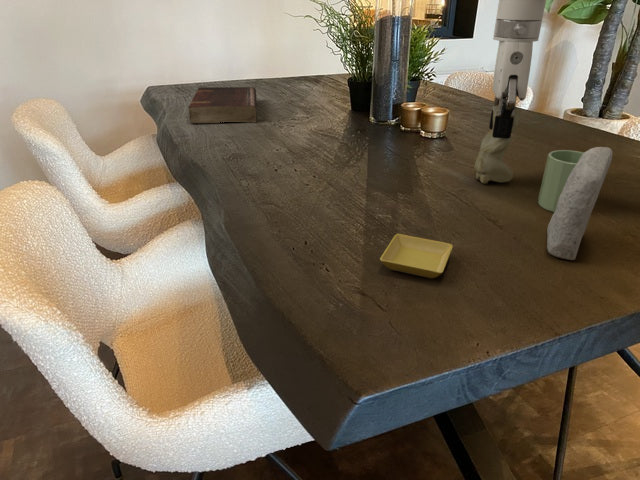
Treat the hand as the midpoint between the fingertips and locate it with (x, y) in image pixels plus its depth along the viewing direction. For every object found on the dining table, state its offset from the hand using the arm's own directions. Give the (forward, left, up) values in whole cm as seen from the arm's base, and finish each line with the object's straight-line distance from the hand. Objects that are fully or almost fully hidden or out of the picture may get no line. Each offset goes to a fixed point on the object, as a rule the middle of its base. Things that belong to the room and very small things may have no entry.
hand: (499, 132), depth 94 cm
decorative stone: (-8, +26, -10) cm, 29 cm away
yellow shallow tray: (+14, +36, -10) cm, 40 cm away
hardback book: (+75, -47, -10) cm, 89 cm away
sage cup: (-11, +10, -10) cm, 18 cm away
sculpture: (0, 0, -10) cm, 10 cm away
